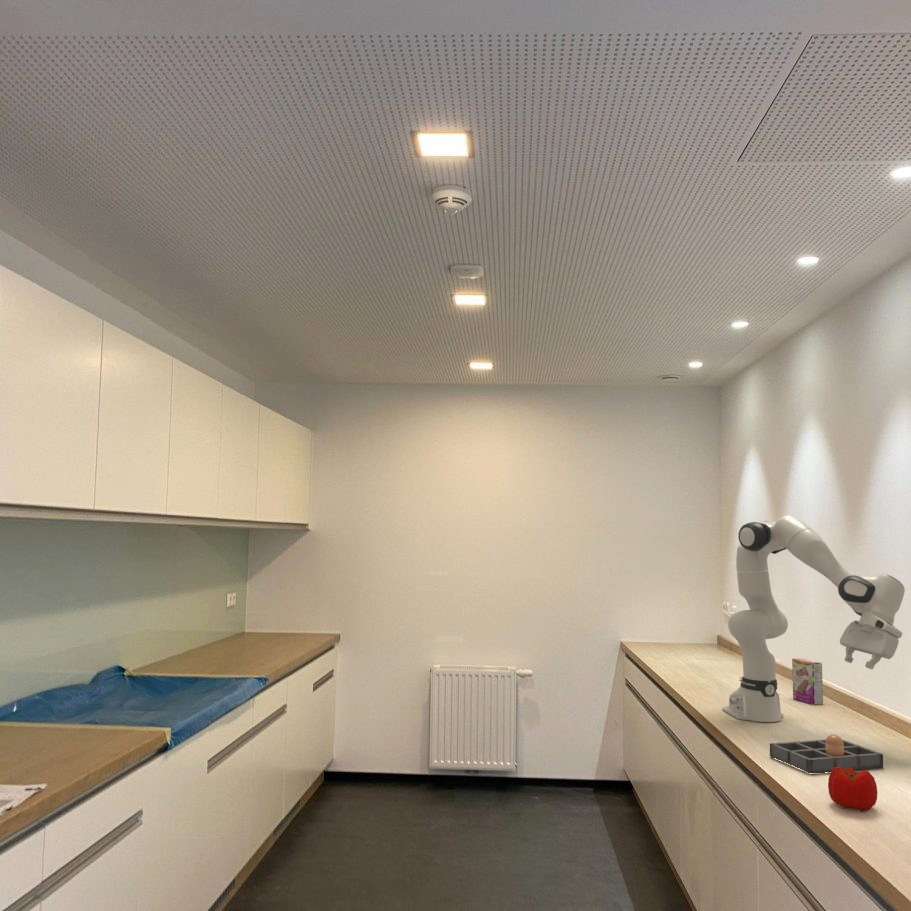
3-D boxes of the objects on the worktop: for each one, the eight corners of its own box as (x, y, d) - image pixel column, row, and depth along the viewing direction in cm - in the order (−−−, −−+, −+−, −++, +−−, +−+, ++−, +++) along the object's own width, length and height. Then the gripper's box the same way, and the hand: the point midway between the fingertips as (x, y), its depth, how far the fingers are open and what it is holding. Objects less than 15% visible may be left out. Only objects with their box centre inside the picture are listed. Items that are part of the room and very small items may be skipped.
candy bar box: (792, 699, 319) (791, 658, 320) (801, 698, 320) (800, 657, 322) (814, 705, 308) (813, 662, 310) (823, 704, 310) (822, 662, 312)
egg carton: (769, 757, 238) (769, 743, 238) (839, 751, 244) (839, 738, 244) (809, 774, 221) (809, 759, 221) (883, 768, 228) (882, 754, 228)
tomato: (882, 806, 197) (881, 768, 197) (869, 819, 188) (868, 779, 188) (837, 796, 204) (836, 759, 204) (822, 808, 195) (821, 770, 196)
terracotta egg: (822, 761, 231) (821, 733, 231) (836, 760, 232) (835, 732, 233) (834, 765, 226) (833, 737, 227) (848, 764, 227) (847, 736, 228)
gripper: (844, 615, 257) (828, 654, 256) (890, 625, 237) (873, 667, 236) (859, 623, 258) (843, 662, 256) (906, 634, 238) (889, 676, 236)
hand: (858, 665), depth 246 cm, fingers open, 8 cm apart
